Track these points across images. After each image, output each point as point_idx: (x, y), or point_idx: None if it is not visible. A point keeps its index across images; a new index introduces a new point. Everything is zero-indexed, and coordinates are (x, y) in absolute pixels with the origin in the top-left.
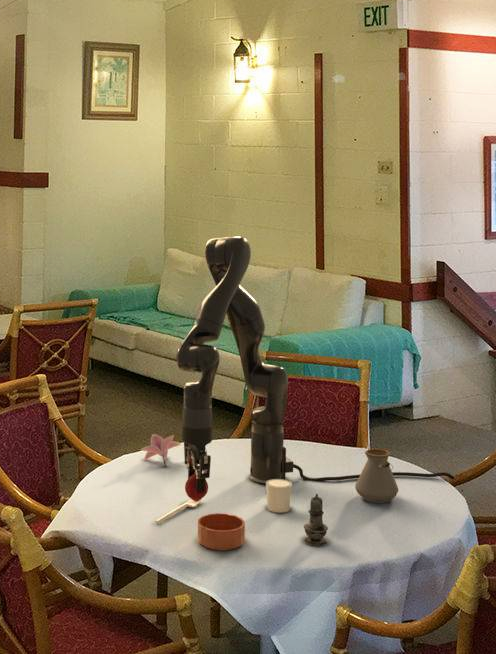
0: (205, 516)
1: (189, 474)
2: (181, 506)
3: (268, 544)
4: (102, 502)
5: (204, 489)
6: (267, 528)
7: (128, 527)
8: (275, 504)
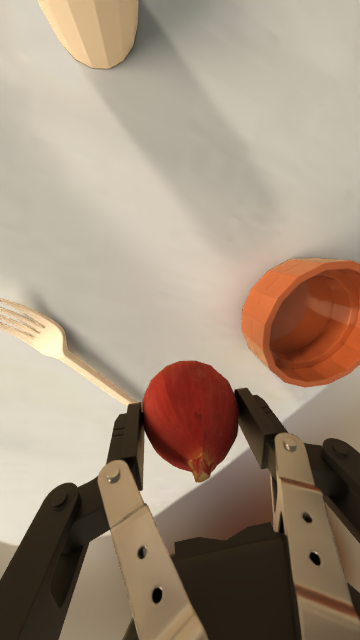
0: (274, 362)
1: (142, 466)
2: (82, 369)
3: (347, 200)
4: (19, 503)
5: (263, 401)
6: (255, 155)
7: (165, 465)
8: (131, 19)
